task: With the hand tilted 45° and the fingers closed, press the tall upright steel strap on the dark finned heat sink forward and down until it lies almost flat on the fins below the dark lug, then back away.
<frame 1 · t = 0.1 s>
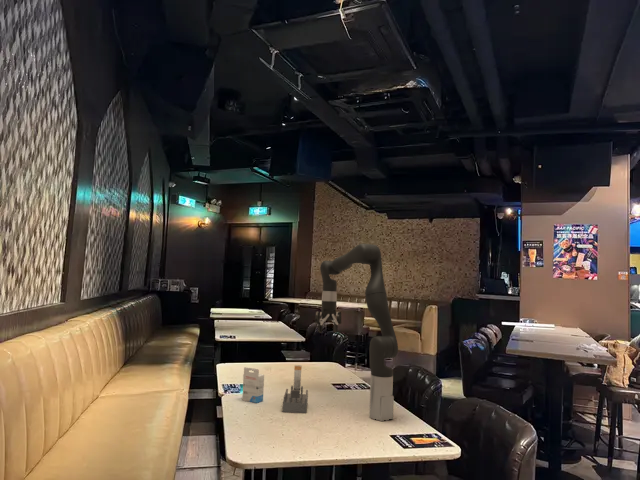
hand: (327, 332, 233), 29 cm above the table, tool pointing down, fingers open, 8 cm apart
ink box: (252, 401, 209), on the table
heat sink: (296, 404, 206), on the table
strap: (297, 377, 207), point 12 cm above the table, hinge at 0.0°
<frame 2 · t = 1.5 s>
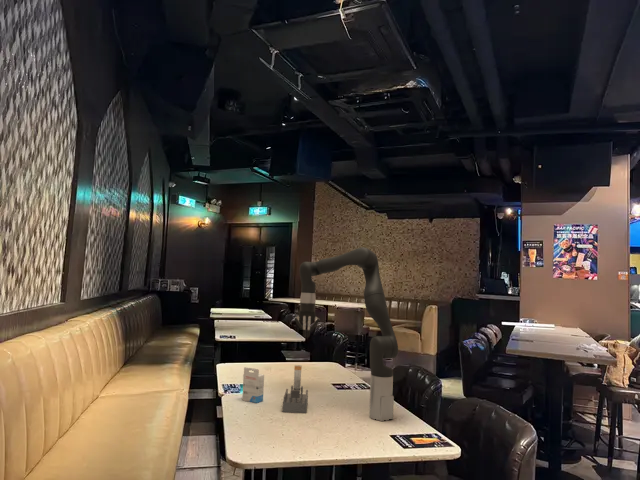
hand: (306, 337, 228), 27 cm above the table, tool pointing down, fingers closed
nothing on the table moved.
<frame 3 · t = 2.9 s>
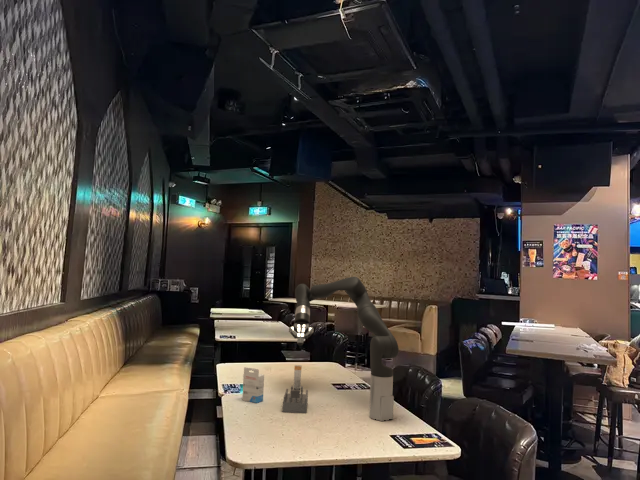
hand: (300, 344, 221), 24 cm above the table, tool tilted 45°, fingers closed
nothing on the table moved.
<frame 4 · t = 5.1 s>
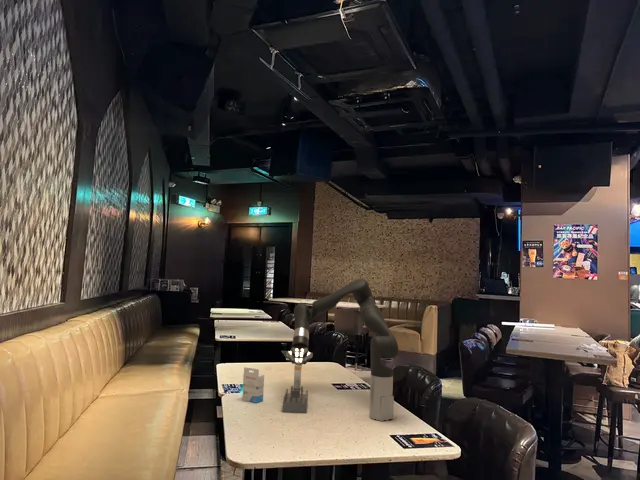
hand: (297, 370, 208), 14 cm above the table, tool tilted 45°, fingers closed
strap: (297, 377, 207), point 12 cm above the table, hinge at 0.7°, touching gripper
everything else where it was.
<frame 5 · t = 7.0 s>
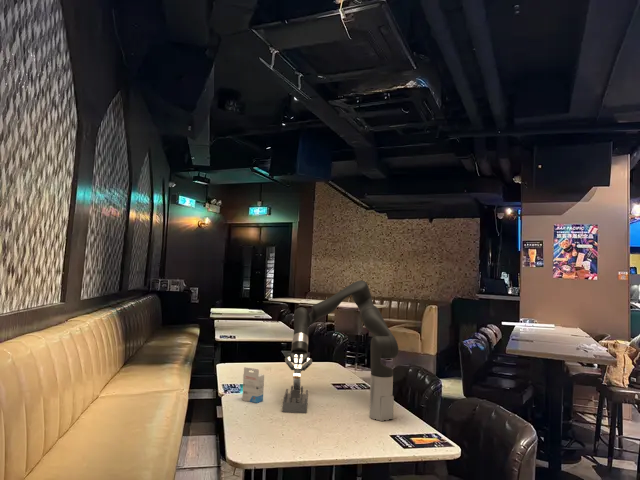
hand: (297, 377, 203), 13 cm above the table, tool tilted 45°, fingers closed
strap: (296, 382, 204), point 10 cm above the table, hinge at 42.6°, touching gripper
everything else where it was.
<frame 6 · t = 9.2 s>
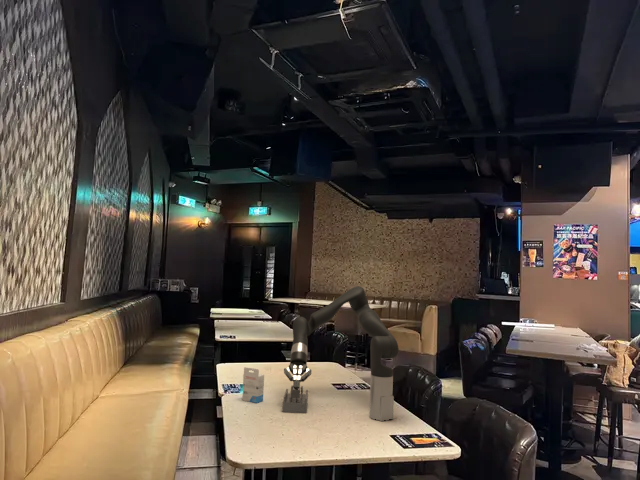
hand: (296, 388, 200), 8 cm above the table, tool tilted 45°, fingers closed
strap: (296, 390, 202), point 7 cm above the table, hinge at 87.9°, touching gripper
everything else where it was.
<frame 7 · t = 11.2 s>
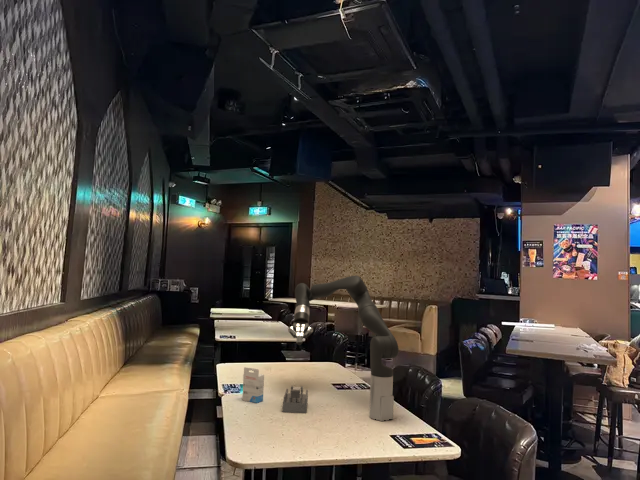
hand: (299, 344, 220), 25 cm above the table, tool tilted 45°, fingers closed
strap: (296, 390, 202), point 7 cm above the table, hinge at 87.9°
everything else where it was.
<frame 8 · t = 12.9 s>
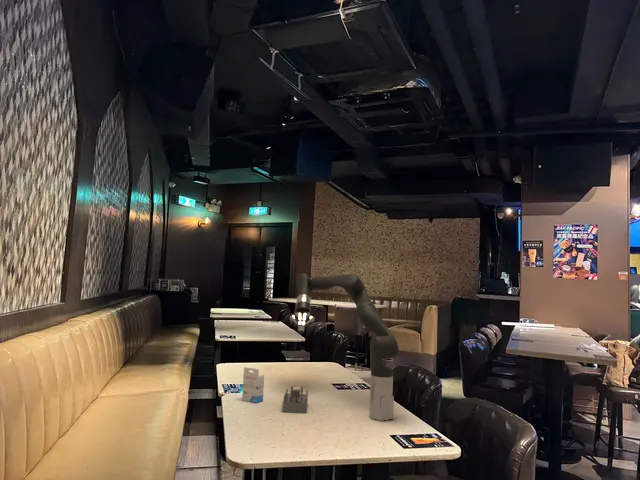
hand: (300, 332, 222), 30 cm above the table, tool tilted 45°, fingers closed
nothing on the table moved.
at the end: strap at +88° (first picture: +0°); ink box moved 0.2 cm from its start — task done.
